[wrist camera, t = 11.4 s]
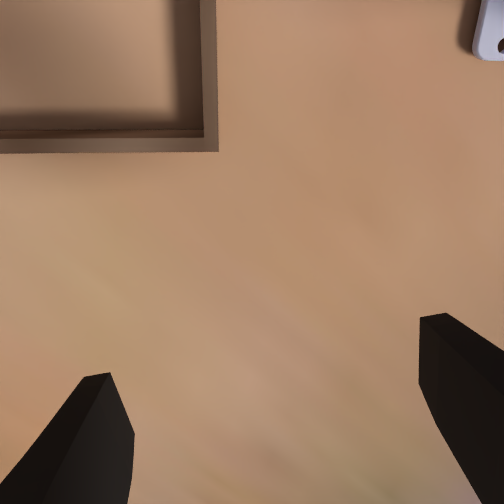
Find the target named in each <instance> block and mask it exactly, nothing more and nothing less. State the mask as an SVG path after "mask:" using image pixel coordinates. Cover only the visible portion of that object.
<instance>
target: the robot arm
mask: <svg viewBox="0 0 504 504" xmlns="http://www.w3.org/2000/svg"><path fill="white" fill-rule="evenodd" d="M503 38H504V0H482V2H481V7H480V11H479V16H478V21H477V25H476V30H475V35H474V39H473V44H472V51H473V54H474V56H475V57H476V58H478V59H481V60H486V61H504V49H503V50H502V51H501V52H499V51H498V43H499V41H500V40H502V39H503ZM419 385H420V388H421V390H422V393H423V395H424V398H425V400H426V402H427V405H428V407H429V409H430V412H431V414H432V416H433V418H434V421H435V423H436V425H437V427H438V428H439V430H440V432H441V434H442V436H443V437H444V439H445V441H446V443H447V444H448V446H449V448H450V450H451V451H452V453H453V455H454V457H455V458H456V460H457V462H458V463H459V465H460V467H461V469H462V470H463V472H464V474H465V475H466V477H467V479H468V481H469V482H470V484H471V486H472V488H473V489H474V491H475V493H476V494H477V496H478V498H479V500H480V501H481V503H482V504H504V351H503V350H501V349H500V348H498V347H497V346H495V345H494V344H492V343H491V342H489V341H488V340H486V339H485V338H483V337H482V336H480V335H479V334H477V333H476V332H474V331H473V330H471V329H470V328H469V327H467V326H466V325H464V324H463V323H461V322H460V321H458V320H457V319H455V318H454V317H452V316H451V315H449V314H447V313H442V314H436V315H430V316H425V317H420V336H419ZM134 437H135V433H134V431H133V428H132V426H131V423H130V421H129V418H128V416H127V413H126V411H125V408H124V406H123V403H122V401H121V398H120V396H119V393H118V391H117V388H116V386H115V383H114V381H113V378H112V376H111V373H110V372H109V373H103V374H97V375H92V376H86V377H84V378H83V379H82V380H81V381H80V383H79V384H78V385H77V387H76V388H75V389H74V391H73V392H72V393H71V395H70V396H69V397H68V399H67V400H66V401H65V403H64V404H63V405H62V407H61V408H60V409H59V411H58V412H57V413H56V415H55V416H54V417H53V419H52V420H51V421H50V423H49V424H48V425H47V427H46V428H45V429H44V430H43V432H42V433H41V434H40V436H39V437H38V438H37V439H36V441H35V442H34V443H33V445H32V446H31V447H30V448H29V450H28V451H27V452H26V454H25V455H24V456H23V457H22V459H21V460H20V461H19V462H18V463H17V465H16V466H15V467H14V468H13V469H12V470H11V472H10V473H9V474H8V475H7V476H6V478H5V479H4V480H3V481H2V482H1V484H0V504H127V502H128V497H129V491H130V485H131V480H132V469H133V456H134Z"/></svg>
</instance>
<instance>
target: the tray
mask: <svg viewBox="0 0 504 504" xmlns="http://www.w3.org/2000/svg"><path fill="white" fill-rule="evenodd" d="M200 29H201V59H202V90H203V121H204V129H198V130H0V154H9V153H131V152H219V141H218V86H217V32H216V0H200Z"/></svg>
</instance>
